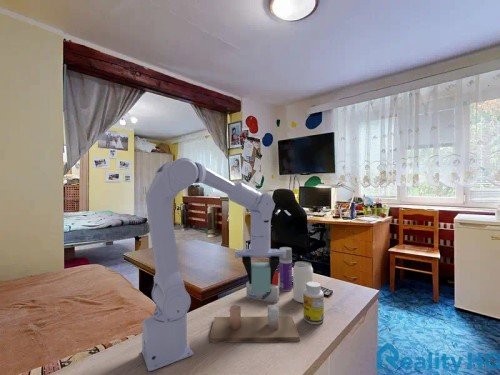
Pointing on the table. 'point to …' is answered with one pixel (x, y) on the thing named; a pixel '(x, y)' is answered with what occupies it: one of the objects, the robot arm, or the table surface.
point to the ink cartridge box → (266, 296)
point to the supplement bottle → (313, 303)
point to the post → (273, 317)
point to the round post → (235, 317)
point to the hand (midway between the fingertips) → (260, 282)
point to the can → (301, 279)
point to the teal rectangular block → (260, 277)
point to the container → (285, 270)
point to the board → (254, 330)
